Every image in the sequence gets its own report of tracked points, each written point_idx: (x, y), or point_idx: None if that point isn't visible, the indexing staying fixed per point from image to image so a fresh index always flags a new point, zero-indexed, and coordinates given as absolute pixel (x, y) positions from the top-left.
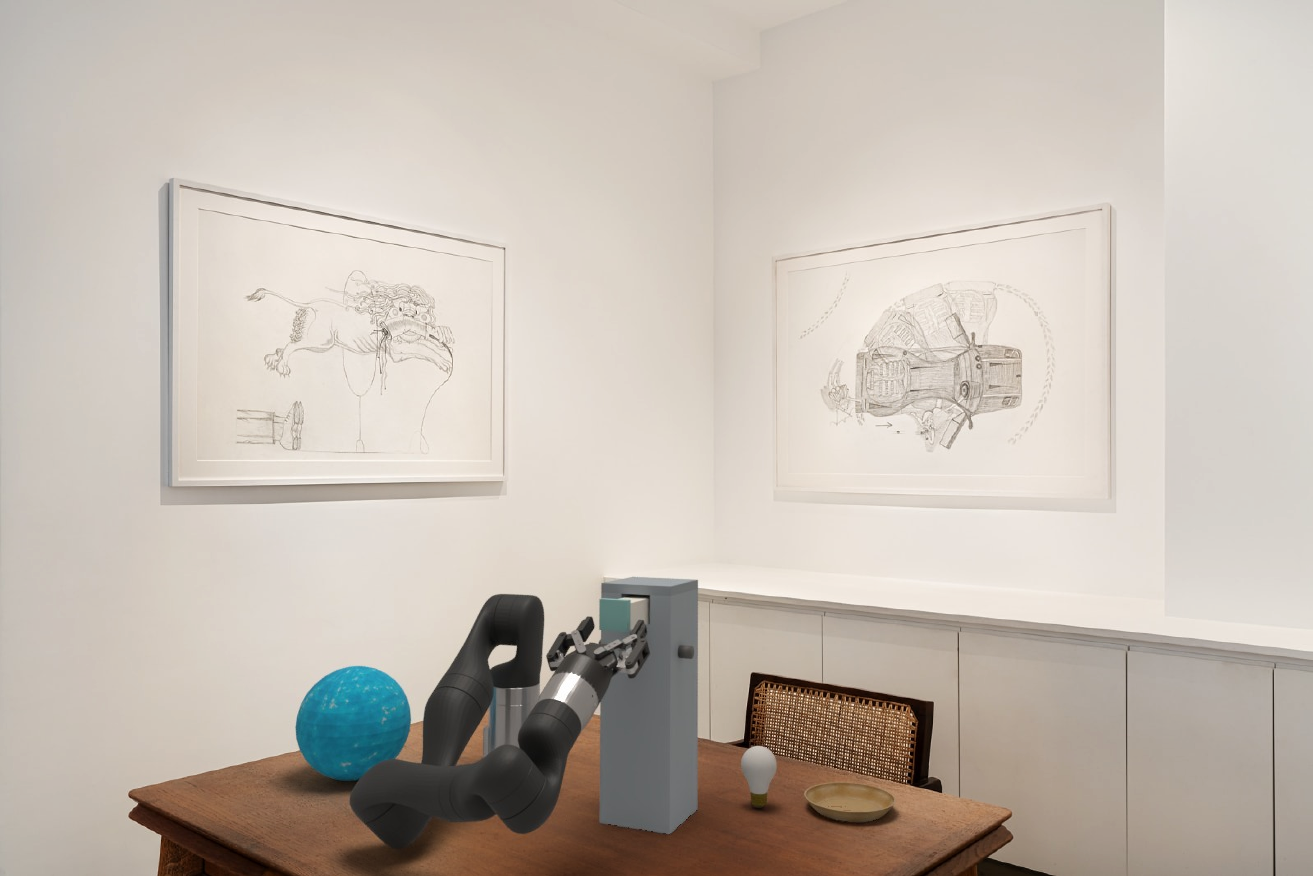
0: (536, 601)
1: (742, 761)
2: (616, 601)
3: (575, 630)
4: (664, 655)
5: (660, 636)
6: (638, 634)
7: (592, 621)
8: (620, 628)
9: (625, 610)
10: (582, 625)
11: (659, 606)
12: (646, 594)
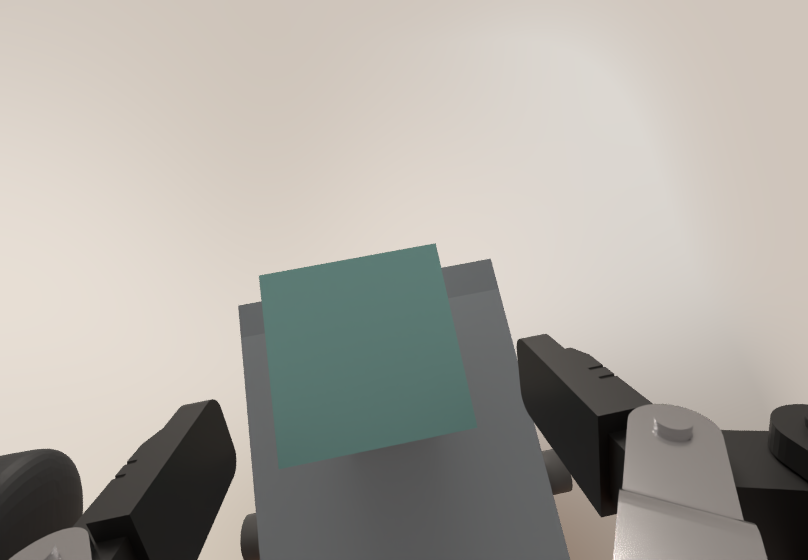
0: (47, 460)
1: None
2: (369, 264)
3: (54, 535)
4: (532, 507)
5: (497, 437)
6: (637, 405)
7: (221, 429)
8: (427, 417)
9: (437, 299)
10: (141, 467)
11: (467, 331)
12: None
